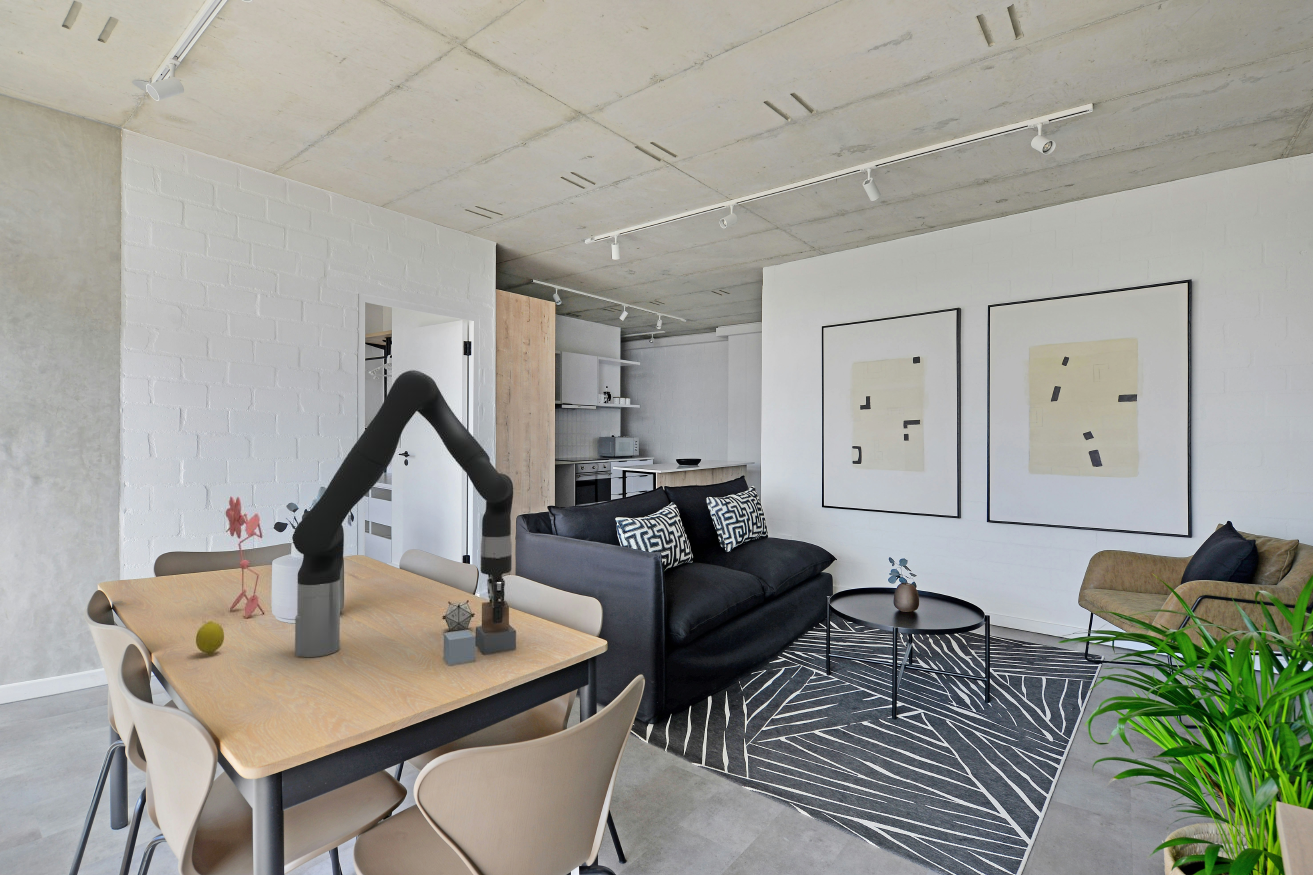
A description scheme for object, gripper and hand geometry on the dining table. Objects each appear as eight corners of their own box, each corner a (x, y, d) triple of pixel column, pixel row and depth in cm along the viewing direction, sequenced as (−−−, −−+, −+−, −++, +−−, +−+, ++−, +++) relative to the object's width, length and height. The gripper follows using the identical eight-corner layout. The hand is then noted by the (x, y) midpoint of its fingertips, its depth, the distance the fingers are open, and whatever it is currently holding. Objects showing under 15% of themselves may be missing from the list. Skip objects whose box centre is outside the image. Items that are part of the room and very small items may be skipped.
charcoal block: (483, 655, 153) (483, 635, 153) (475, 646, 159) (475, 626, 159) (515, 650, 156) (516, 630, 156) (506, 641, 163) (506, 622, 163)
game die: (461, 646, 170) (462, 623, 164) (434, 633, 171) (434, 609, 165) (480, 622, 177) (482, 599, 171) (455, 609, 178) (455, 586, 173)
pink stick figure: (247, 602, 198) (246, 491, 197) (278, 618, 181) (276, 497, 180) (188, 613, 186) (186, 495, 186) (214, 632, 169) (212, 502, 169)
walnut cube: (483, 633, 154) (484, 608, 154) (481, 626, 160) (481, 602, 160) (508, 630, 156) (509, 606, 156) (505, 623, 162) (506, 600, 162)
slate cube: (448, 666, 145) (449, 640, 145) (443, 658, 150) (443, 632, 150) (475, 661, 148) (475, 636, 148) (468, 653, 153) (469, 629, 153)
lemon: (193, 659, 147) (194, 625, 148) (198, 652, 152) (198, 619, 152) (222, 656, 150) (222, 622, 150) (225, 649, 155) (225, 616, 155)
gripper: (478, 549, 163) (477, 611, 163) (483, 559, 150) (482, 627, 150) (507, 547, 166) (507, 609, 166) (515, 557, 153) (514, 624, 153)
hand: (495, 617), depth 158 cm, fingers open, 8 cm apart
